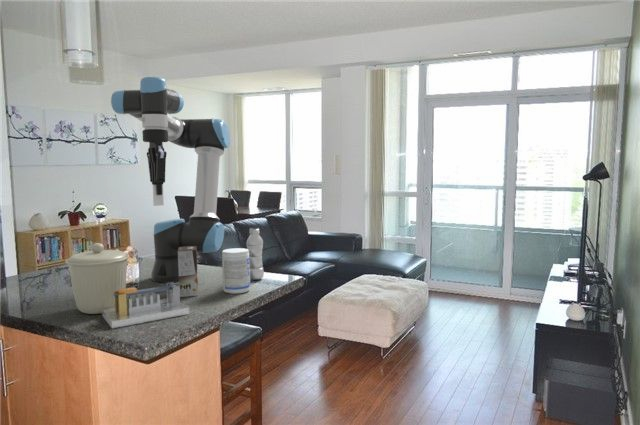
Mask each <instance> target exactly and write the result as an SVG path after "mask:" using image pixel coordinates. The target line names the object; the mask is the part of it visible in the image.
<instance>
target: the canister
mask: <svg viewBox="0 0 640 425" xmlns="http://www.w3.org/2000/svg"><path fill="white" fill-rule="evenodd" d="M90 248H91V250H89V251H84V252H83V251H82V252H80V253H76V254H72V255H71V256H70V257H69V258H67V259H65V261H64V262H65V264H66V265H67V266H68V272H69V277H70V281H71V282H70V283H71V287H72V291H73V297H74V301H75V305H76V308H77V309H78V310H79V312H81V313H83V314H87V315H89V314H90V315H98V314H99V315H100V314H102V309H106V308H112V307H115V297H114V291H117V289H125V288H127V284H126V283H127V273H128V272H127V270H128V260H129V258H130V255H129V254H128V253H125V252H124V251H122V250H118V249H117V250H116V249H115V250H114V249H104V248H105V246H104V244H102V243H100V242H96V243H93V244H92V245H91V247H90Z"/></svg>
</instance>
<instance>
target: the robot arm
mask: <svg viewBox="0 0 640 425" xmlns="http://www.w3.org/2000/svg"><path fill="white" fill-rule="evenodd" d="M139 85H140V89H129V90H127V89H123V90H116V91H114V92H113V93H112V94H111V97H110V105H111V108H112V110H113V111H114V113H116V114H119V115H127V114H128V115H130V116H131V117H134V119H136V120H138V121H140V122H141V125H142V126H141V127H142V129H143V130H142V141H143V142H144V143H149V147H148V148H147V152H146V158H147V163H148V173H149V181H150V183H151V186H152V199H153V200H152V201H153V202H152V203H153V206H155V207H157V206H158V207H159V206H164V203H165V202H164V183H166V162H167V151H165V148H164V143H167V142H170V143H172V144H173V145H176V146H179V147H182V148H185V149H187V148H188V149H194V152H195V153H196V154H197V162H196V165H197V166H196V177H195V180H196V181H195V190H194V191H195V193H194V206H193V214H191V215H190V216H189V220H188V222H186V221H185V218H175V219H174V218H173V219H167V220H162V221H158V222H156V223H155V224H154V226H153V243H154V257H155V258H154V262H153V267H152V270H151V274H150V275H151V276H150V277H151V279H150V280H151V281H153V282H156V283H170V282H173V283H175V282H177V283H178V282H179V273H178V248H179V247H185V246H197V253H200V254H201V253H203V254H208V253H217V251H219V250H220V249H221V247H222V245H223V243H224V242H223V241H224V238H225V226H224V224H223V223H222V222H220V220H221V219H220V218H219V217H218V215H217V205H218V191H219V190H218V189H219V175H220V162H221V161H220V159H221V156H223V155H224V154H225V149H227V148H229V147H230V142H231V139H230V131H229V129H228V128H229V127H228V125H227V123H226V122H225V120H223V119H222V118H213V117H212V118H195V119H191V118H190V119H189V118H188V119H186V118H185V119H183V118H182V119H181V118H178V117H176V116H171V114H172V115H173V114H178V113H180V112H181V111H182V110H183V107H184V104H185V101H184V97H183V96H182V95H181V94H180V93H179V92H177V91H176V90H174V89H170V88H168V87H167V81H166V79H165V78H162V77H159V76H158V77H156V76H145V77H142V78H140V84H139Z"/></svg>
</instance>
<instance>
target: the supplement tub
mask: <svg viewBox="0 0 640 425" xmlns="http://www.w3.org/2000/svg"><path fill="white" fill-rule="evenodd" d="M221 253H222V254H221V260H222V261H221V266H222V268H221V270H222V284H223V285H222V286H223V287H222V288H223V290H222V291H223V292H225V293H226V294H231V295H233V294H235V295H237V294H243V293H248V292H249V291H250V290H251V279H250V262H249V250H248V249H247V248H243V247H239V248H238V247H236V248H235V247H234V248H226V249H223V250H222V251H221Z"/></svg>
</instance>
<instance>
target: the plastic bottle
mask: <svg viewBox="0 0 640 425" xmlns="http://www.w3.org/2000/svg"><path fill="white" fill-rule="evenodd" d="M263 248H264V240H263V238H262V237H261V235H260V227H251V228H250V227H249V236H248V238H247V240H246V249H248V250H249V262H250V281H253V280H254V281H257V280H261V279H263V277H264V274H265V272H264V271H265V270H264V265H263Z"/></svg>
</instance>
